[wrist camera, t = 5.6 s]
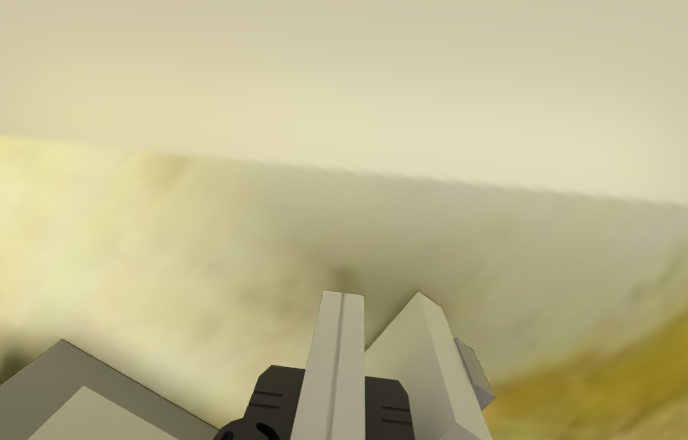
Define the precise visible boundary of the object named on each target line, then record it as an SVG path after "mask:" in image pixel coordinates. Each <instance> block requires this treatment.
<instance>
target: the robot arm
mask: <svg viewBox="0 0 688 440" xmlns="http://www.w3.org/2000/svg"><path fill="white" fill-rule="evenodd" d="M412 424H413V422H412V416H411V413H410V403H409V397H408V394H407V392H406V391H405V389H404V388H403V386H402V385H401V383H400V382H399V381H398V380H393V379H385V378H378V377H370V376H365V347H364V295H356V294H348V293H340V292H332V291H324V290H323V294H322V299H321V303H320V308H319V312H318V317H317V321H316V326H315V330H314V335H313V339H312V344H311V348H310V353H309V357H308V362H307V366H306V369H298V368H290V367H283V366H275V365H271V366H270V367H269V368H268V369H267V370H266V371H265V372H264V373H262V374H261V375H260V376H259V378H258V381H257V383H256V386H255V389H254V392H253V394H252V396H251V399H250V401H249V405H248V406H247V409H246V412H245V414H244V417H243V418H241V419H238V420H235V421H232V422H230V423H229V424H227V425H226V426H224V427H223V428H221V429H220V430H219V432H218V433H217V434H216V436H215V437H214V439H213V440H415V435H414V429H413V426H412Z"/></svg>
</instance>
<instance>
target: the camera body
mask: <svg viewBox="0 0 688 440" xmlns="http://www.w3.org/2000/svg"><path fill="white" fill-rule="evenodd" d="M218 432H219V430H217V429H216V428H214V427H212V426H210V425H209V424H207V423H205V422H204V421H202V420H200V419H198V418H197V417H195V416H193V415H191V414H190V413H188V412H186V411H185V410H183V409H181V408H179V407H178V406H176V405H174V404H173V403H171V402H169V401H167V400H166V399H164V398H162V397H160V396H159V395H157V394H155V393H154V392H152V391H150V390H148V389H147V388H145V387H143V386H141V385H140V384H138V383H136V382H135V381H133V380H131V379H129V378H128V377H126V376H124V375H123V374H121V373H119V372H117V371H116V370H114V369H112V368H110V367H109V366H107V365H105V364H104V363H102V362H100V361H98V360H97V359H95V358H93V357H92V356H90V355H88V354H86V353H85V352H83V351H81V350H79V349H78V348H76V347H74V346H73V345H71V344H69V343H67V342H66V341H64V340H60V341H59V342H58V343H56V344H55V345H54V346H52V347H51V348H50V349H48V350H47V351H46V352H44V353H43V354H42V355H40V356H39V357H38V358H36V359H35V360H34V361H32V362H31V363H30V364H28V365H27V366H25V367H24V368H23V369H21V370H20V371H19V372H17V373H16V374H15V375H13V376H12V377H11V378H9V379H8V380H7V381H5V382H4V383H3V384H1V385H0V440H213V439H214V437H215V436H216V434H217V433H218Z"/></svg>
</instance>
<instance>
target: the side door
mask: <svg viewBox="0 0 688 440" xmlns="http://www.w3.org/2000/svg"><path fill="white" fill-rule="evenodd" d="M365 376H370V377H378V378H385V379H393V380H398V381H399V382H400V383H401V385H402V386H403V388H404V389H405V391H406V392H407V394H408V397H409V403H410V413H411V416H412V422H413V424H412V426H413V429H414V435H415V440H492V437H491V435H490V432H489V429H488V427H487V424H486V422H485V419H484V416H483V414H482V410H483V409H484V408H485V407H486V406H487V405H488V404H489V403H490V402H491V401H492V400H493V399H494V398H495V396H494V394H493V392H492V390H491V388H490V385H489V383H488V381H487V379H486V376H485V374H484V372H483V370H482V368H481V365H480V363H479V361H478V359H477V356H476V354H475V352H474V350H473V349H471V348H470V347H468V346H467V345H466V344H464V343H463V342H461V341H460V340H459V339H457V338H455V339H454V338H453V336H452V333H451V331H450V328H449V325H448V323H447V320H446V318H445V315H444V312H443V310H442V308H441V307H439V306H438V305H437V304H435V303H434V302H433V301H431V300H430V299H428V298H427V297H426V296H424V295H423V294H421V293H420V292H419V291H418V292H417V294H416V295H415V296H414V297H413V298H412V299H411V300H410V302H409V303H408V304H407V305H406V306H405V307H404V308H403V310H402V311H401V312H400V313H399V314H398V315H397V316H396V318H395V319H394V320H393V321H392V322H391V323H390V324H389V326H388V327H387V328H386V329H385V330H384V331H383V332H382V334H381V335H380V336H379V337H378V338H377V339H376V340H375V342H374V343H373V344H372V345H371V346H370V347H369V348H368V350H367V351H366V352H365Z"/></svg>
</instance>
